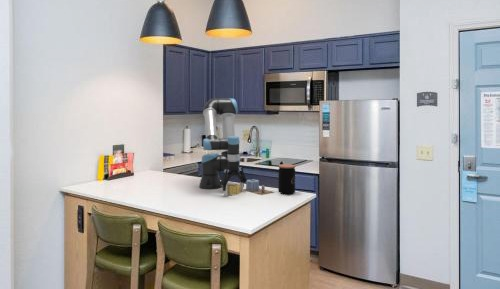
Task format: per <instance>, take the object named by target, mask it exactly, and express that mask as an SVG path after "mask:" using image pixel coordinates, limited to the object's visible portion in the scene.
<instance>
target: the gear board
mask: <svg viewBox="0 0 500 289" xmlns="http://www.w3.org/2000/svg"><path fill="white" fill-rule="evenodd" d="M243 192H248V193H252V194H256V195H260V196H264V195H269V194H274V193H275V191H273V190H268V189H265V185H264V184H262V185H261V188H260V187H259V190H258V191H257V190H256V191H249V190H246V188H243Z"/></svg>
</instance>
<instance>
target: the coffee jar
mask: <svg viewBox="0 0 500 289" xmlns="http://www.w3.org/2000/svg"><path fill="white" fill-rule="evenodd" d="M295 168H296V165H295V164H291V163H290V164H287V163H282V164H279V165H278V193H279V194H281V195H284V194H285V195H287V196H288V195H289V196H290V195H294V194H295V193H296V169H295ZM285 195H284V196H285Z"/></svg>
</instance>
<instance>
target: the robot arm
mask: <svg viewBox="0 0 500 289" xmlns="http://www.w3.org/2000/svg"><path fill="white" fill-rule="evenodd" d="M238 110H239V109H238V103H237V101H236V99H235V98H225V97H224V98H218V97H217V98H216V97H215V98H211V99H209V100H208V101H207V102H206V103H205V104H204V106H203V109H202V115H203V117H204V125H205V126H204V127H205V129H204V130H205V138H203V140H202V141H203V150H204V151H221V153H220V154H219V152H211V153H206V154H203V155H202V156H201V178H200V181H199V188H200V189H204V190H214V189H216V190H217V189H220V188H221V187H222V191H223V196H224V197H228V193H227V185H228V184H229V182H230V179H231V178H232V177H234V176H236V177H237V180H239V181H240V182H239V185H241V192H243V193H244V191H243V189H244V186H245V184H246V180H247V178H246V176H245V173H244V168H243V167H242V166H240V164H241V155H240V137H239V136H236V135H235V134H236V133H235V118H236V117H237V116H236V115H238ZM217 115H219V118H220V119H221V124H222V125H221V130H222V138H218V131H217V130H218V129H217V120H216V119H217V118H216V116H217ZM219 172H220V173H223V174H222V177H221V178H220V176H219V174H220V173H219Z"/></svg>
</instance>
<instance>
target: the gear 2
mask: <svg viewBox="0 0 500 289" xmlns="http://www.w3.org/2000/svg"><path fill="white" fill-rule="evenodd" d="M259 188H260V180H259V179H254V178H253V179H246V181H245V189H246V190H249V191H256V190H257V191H258V190H259Z"/></svg>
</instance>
